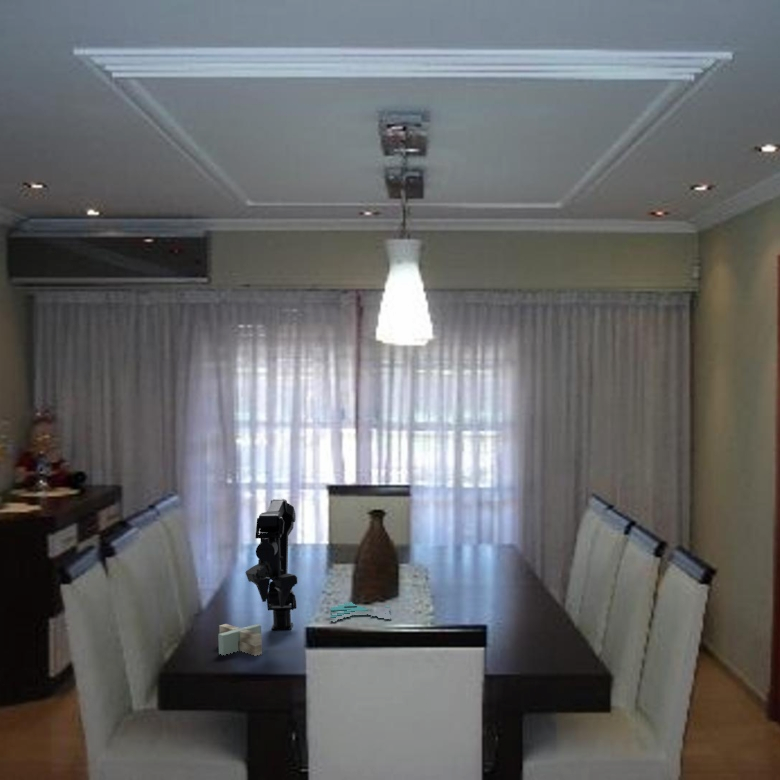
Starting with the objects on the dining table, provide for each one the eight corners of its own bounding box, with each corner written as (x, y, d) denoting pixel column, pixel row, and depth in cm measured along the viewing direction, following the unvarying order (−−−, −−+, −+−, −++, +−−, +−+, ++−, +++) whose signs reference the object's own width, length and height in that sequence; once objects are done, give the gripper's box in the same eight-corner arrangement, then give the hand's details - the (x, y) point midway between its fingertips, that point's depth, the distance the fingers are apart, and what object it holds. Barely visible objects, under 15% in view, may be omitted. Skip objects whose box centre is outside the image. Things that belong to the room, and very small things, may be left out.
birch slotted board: (220, 644, 299) (219, 625, 299) (226, 643, 301) (225, 623, 300) (255, 656, 286) (254, 635, 286) (262, 654, 288) (261, 634, 288)
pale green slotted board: (223, 655, 288) (222, 635, 288) (218, 654, 289) (218, 634, 289) (261, 644, 297) (260, 625, 297) (256, 643, 299) (256, 624, 299)
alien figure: (390, 621, 321) (388, 606, 341) (390, 614, 321) (388, 599, 341) (330, 623, 321) (331, 608, 341) (330, 617, 321) (331, 602, 341)
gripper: (232, 554, 300) (234, 604, 301) (267, 563, 287) (269, 615, 287) (261, 548, 308) (263, 597, 309) (297, 556, 294) (299, 607, 295)
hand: (273, 604), depth 300 cm, fingers open, 9 cm apart
